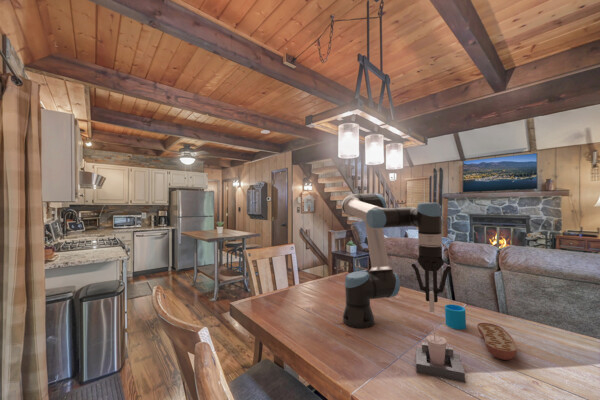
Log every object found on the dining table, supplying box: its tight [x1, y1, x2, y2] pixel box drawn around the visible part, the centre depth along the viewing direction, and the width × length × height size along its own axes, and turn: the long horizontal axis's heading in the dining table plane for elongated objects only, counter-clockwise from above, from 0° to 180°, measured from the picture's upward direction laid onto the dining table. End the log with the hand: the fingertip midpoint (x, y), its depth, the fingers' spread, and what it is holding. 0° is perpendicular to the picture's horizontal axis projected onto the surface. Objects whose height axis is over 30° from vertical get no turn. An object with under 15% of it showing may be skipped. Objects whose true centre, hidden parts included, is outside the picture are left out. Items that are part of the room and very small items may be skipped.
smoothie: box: [425, 326, 448, 366], centre depth 89 cm, size 6×6×14 cm
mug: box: [444, 304, 467, 330], centre depth 121 cm, size 12×8×8 cm
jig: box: [415, 342, 466, 384], centre depth 89 cm, size 14×11×5 cm
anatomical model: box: [476, 322, 518, 361], centre depth 100 cm, size 23×10×5 cm, turn 155°
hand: (431, 310), depth 93 cm, fingers closed
